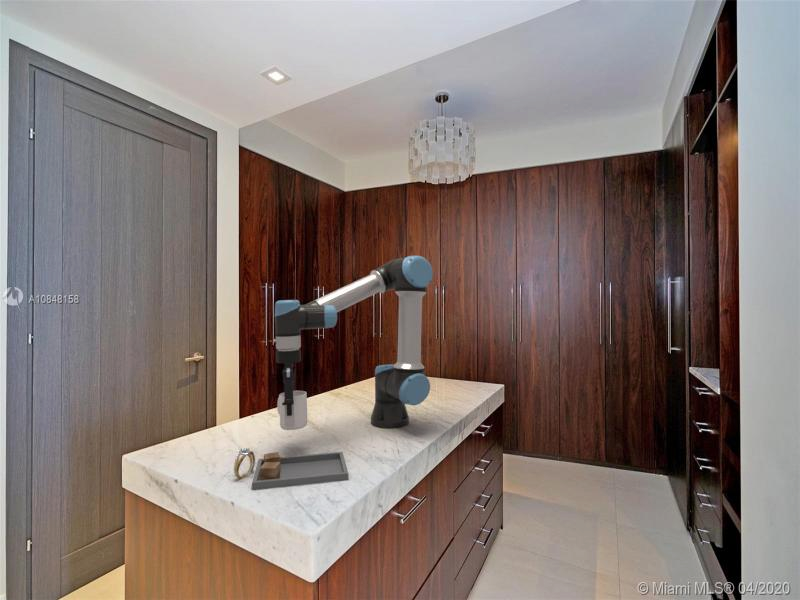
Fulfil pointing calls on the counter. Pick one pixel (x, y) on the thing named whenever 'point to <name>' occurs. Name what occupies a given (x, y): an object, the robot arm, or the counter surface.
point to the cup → (299, 410)
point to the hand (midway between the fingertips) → (290, 420)
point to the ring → (237, 463)
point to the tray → (304, 470)
